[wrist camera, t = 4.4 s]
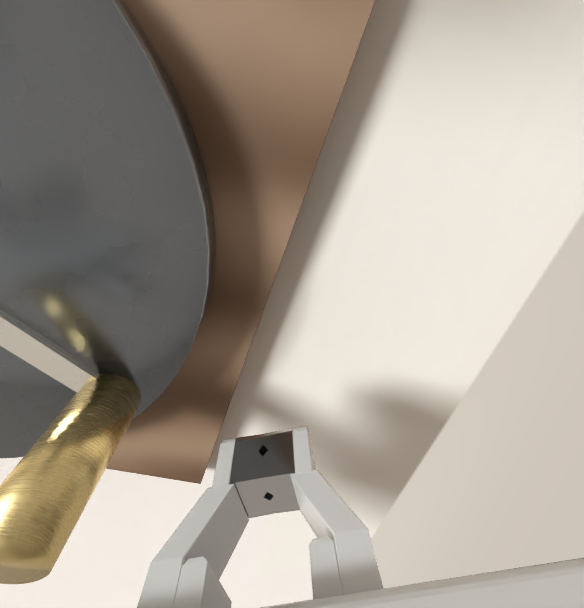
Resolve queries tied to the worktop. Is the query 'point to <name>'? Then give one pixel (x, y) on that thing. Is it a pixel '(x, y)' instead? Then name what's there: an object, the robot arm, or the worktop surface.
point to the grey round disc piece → (87, 257)
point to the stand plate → (239, 184)
